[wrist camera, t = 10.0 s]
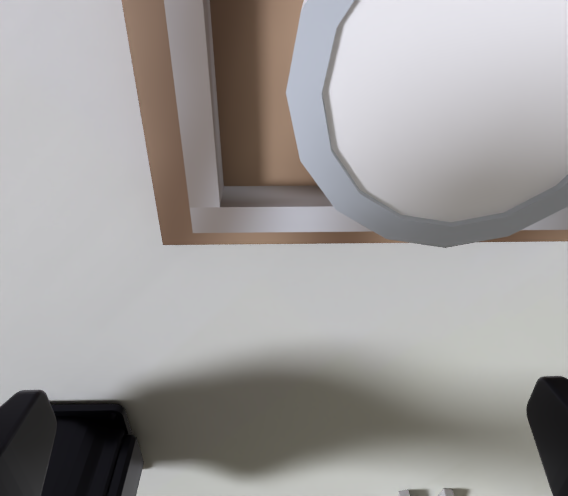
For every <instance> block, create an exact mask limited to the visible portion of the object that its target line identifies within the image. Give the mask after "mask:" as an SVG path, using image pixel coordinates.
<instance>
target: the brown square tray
mask: <svg viewBox="0 0 568 496" xmlns="http://www.w3.org/2000/svg"><path fill="white" fill-rule="evenodd" d="M303 1H304V0H122V5H123V11H124V17H125V23H126V29H127V35H128V41H129V47H130V53H131V59H132V64H133V70H134V76H135V82H136V88H137V94H138V100H139V106H140V112H141V118H142V124H143V130H144V135H145V141H146V147H147V153H148V159H149V165H150V171H151V177H152V183H153V189H154V195H155V201H156V206H157V212H158V218H159V224H160V230H161V236H162V242H163V245H207V244H316V243H410V242H403V241H396V240H389V239H385V238H384V237H382V236H380V235H378V234H377V233H375V232H373V231H371V230H370V229H368V228H366V227H365V226H363V225H361V224H359V223H358V222H356V221H354V220H352V219H351V218H349V217H347V216H345V215H344V214H342V213H340V212H338V211H337V210H336V209H335V208H334V207H333V205H332V204H331V202H330V201H329V200H328V198H327V197H326V196H325V194H324V193H323V191H322V190H321V189H320V187H319V186H318V185H317V183H316V182H315V181H314V179H313V178H312V176H311V175H310V174H309V172H308V171H307V170H306V168H305V167H304V165H303V164H302V163H301V161H300V158H299V153H298V148H297V143H296V139H295V134H294V129H293V124H292V120H291V115H290V110H289V105H288V101H287V96H286V89H287V84H288V78H289V73H290V67H291V62H292V57H293V51H294V46H295V41H296V35H297V30H298V24H299V19H300V14H301V9H302V5H303ZM533 241H568V207H566V208H564V209H562V210H560V211H558V212H556V213H554V214H552V215H550V216H548V217H546V218H544V219H542V220H540V221H538V222H536V223H534V224H532V225H530V226H528V227H526V228H524V229H522V230H520V231H518V232H516V233H514V234H512V235H510V236H507V237H502V238H496V239H491V240H485V241H480V242H533Z"/></svg>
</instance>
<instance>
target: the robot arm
mask: <svg viewBox="0 0 568 496" xmlns="http://www.w3.org/2000/svg"><path fill="white" fill-rule="evenodd" d="M527 418H528V421H529V424H530V427H531V430H532V433H533V436H534V440H535V443H536V446H537V449H538V452H539V455H540V458H541V461H542V464H543V467H544V470H545V473H546V476H547V479H548V482H549V485H550V488H551V491H552V494H553V496H568V379H567V378H565V377H562V376H544V377H541V378H539V379H538V380H537V382H536V385H535V387H534V389H533V392H532V394H531V397H530V399H529V401H528V404H527ZM142 468H143V459H142V455H141V452H140V448H139V445H138V441H137V438H136V437H135V436H134V434H132V432H131V428H130V425H129V421H128V418H127V415H126V411H125V409H124V407H122V406H121V405H118V404H75V405H51V404H50V402H49V399H48V397H47V395H46V393H45V392H44V391H43V390H22V391H19V392H17V393H16V394H14V395H13V396H12V397H11V398H10V399H9V400H7V401H6V402H5V403H4V404H3V405H2V406H1V407H0V496H136V493H137V489H138V485H139V480H140V476H141V472H142Z"/></svg>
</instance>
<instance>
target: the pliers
mask: <svg viewBox="0 0 568 496" xmlns="http://www.w3.org/2000/svg"><path fill="white" fill-rule="evenodd" d="M399 496H410V494H409V490H402V491H399ZM438 496H454V493H453V490H452V489H445V488H444V489H443V490H442V491H441V492H440V494H439V495H438Z"/></svg>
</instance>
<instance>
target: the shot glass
mask: <svg viewBox="0 0 568 496" xmlns="http://www.w3.org/2000/svg"><path fill="white" fill-rule="evenodd" d="M286 96H287V101H288V105H289V110H290V115H291V120H292V124H293V129H294V134H295V139H296V143H297V148H298V153H299V158H300V161H301V163H302V164H303V165H304V167H305V168H306V170H307V171H308V172H309V174H310V175H311V176H312V178H313V179H314V181H315V182H316V183H317V185H318V186H319V187H320V189H321V190H322V191H323V193H324V194H325V196H326V197H327V198H328V200H329V201H330V202H331V204H332V205H333V207H334V208H335V209H336V210H337V211H338V212H340V213H342V214H344V215H345V216H347V217H349V218H351V219H352V220H354V221H356V222H358V223H359V224H361V225H363V226H365V227H366V228H368V229H370V230H371V231H373V232H375V233H377V234H378V235H380V236H382V237H384V238H385V239H389V240H396V241H403V242H410V243H417V244H423V245H430V246H437V247H444V248H446V247H452V246H458V245H463V244H469V243H474V242H480V241H485V240H491V239H496V238H502V237H507V236H510V235H512V234H514V233H516V232H518V231H520V230H522V229H524V228H526V227H528V226H530V225H532V224H534V223H536V222H538V221H540V220H542V219H544V218H546V217H548V216H550V215H552V214H554V213H556V212H558V211H560V210H562V209H564V208H566V207H568V0H304V1H303V5H302V9H301V14H300V19H299V24H298V30H297V35H296V41H295V46H294V51H293V57H292V62H291V67H290V73H289V78H288V84H287V89H286Z"/></svg>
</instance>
